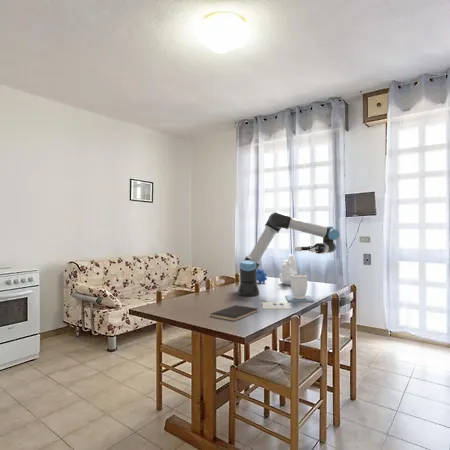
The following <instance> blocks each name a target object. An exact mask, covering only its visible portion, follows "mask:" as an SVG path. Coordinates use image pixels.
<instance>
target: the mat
mask: <svg viewBox="0 0 450 450" xmlns="http://www.w3.org/2000/svg"><path fill="white" fill-rule="evenodd" d="M284 296H285V299H286V301H287V302H288V303H314V302H315V301H314V299H313V297H311V296H310V295H307V294H306V295H305V297H306V298H305V299H295V298H293V294H292V295H291V294H290V295H288V294H287V295H286V294H285V295H284Z"/></svg>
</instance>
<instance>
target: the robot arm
mask: <svg viewBox="0 0 450 450" xmlns="http://www.w3.org/2000/svg"><path fill="white" fill-rule="evenodd" d="M264 227H265V228H264V229H263V231H262V233H261V235H260V237H259V238H258V240H257V242H256V243H255V245H254V246H253V249H252V250H251V251H250V254H249V255H246V256H245V258H244V260H241V261H240V263H239V282H240V283H239V286H238V290H237V295H238V296H240V297H241V296H242V297H257V296H259V295H260V290H259V287H258V284H257V282H258V281H257V280H256V270H258V269H259V266H260V261H261V259H262V258H263V255H265V254H264V253H266V251H267V249H268V247H269V246H270V244H271V242H272V240H273V238H274V237H275V235H276V234H279V233H280V231H281V229H286V230H289V229H292V230H295V231H298V232H303V233H306V234H309V235H313V236H317V237H320V238H322V242H318V243H315V244H314V245H310V246H309V245H308V246H298V247H297V246H295V247H294V252H301V251H309V252H311V253H315V254H317V255H318V254H322V255H324V254H330V253H334V252H336V250H337V244H336V243H335V242H334V241H336V240H338V239H339V237H340V232H339V230H338V229H335V228H334V226H323V225H319V224H316V223H312V222H308V221H304V220H301V219H298V218H294V217H292V216H291V215H288V214H285V213H284V212H281V211H275V212H273V213H271V214H269V216H268V219H267V220H266V222H265V224H264Z"/></svg>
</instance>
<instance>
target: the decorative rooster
mask: <svg viewBox="0 0 450 450" xmlns="http://www.w3.org/2000/svg"><path fill="white" fill-rule="evenodd" d="M293 274H298V270H297V259H296V258H295V255H294V254H292V253H290V254H289V255H288V256H287V259H283V263H282V264H281V271H280V273H279V275H278V276H279V281H280V282H281V284H284V285H288V286H291V278H292V277H291V275H293Z"/></svg>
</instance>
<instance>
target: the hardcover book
mask: <svg viewBox="0 0 450 450" xmlns="http://www.w3.org/2000/svg"><path fill="white" fill-rule="evenodd" d="M257 312H258V308H257V307H251V306H250V307H249V306H245V305H244V306H243V305H237V304H235V305H232V306H228V307H227V308H223V309H219V310H217V311H214V312H211V313H210V317H212V318H218V319H223V320H228V321H238V320H240V319H243V318H244V317H247V316H250V315H252V314H254V313H257Z"/></svg>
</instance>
